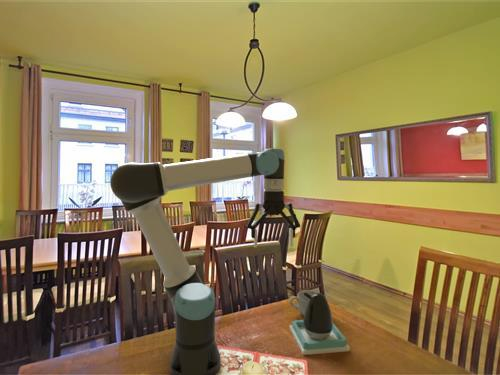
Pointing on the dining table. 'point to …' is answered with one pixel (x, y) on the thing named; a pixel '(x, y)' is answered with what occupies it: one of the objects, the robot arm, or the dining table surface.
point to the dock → (314, 346)
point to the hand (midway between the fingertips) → (273, 246)
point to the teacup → (302, 300)
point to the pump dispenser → (317, 317)
